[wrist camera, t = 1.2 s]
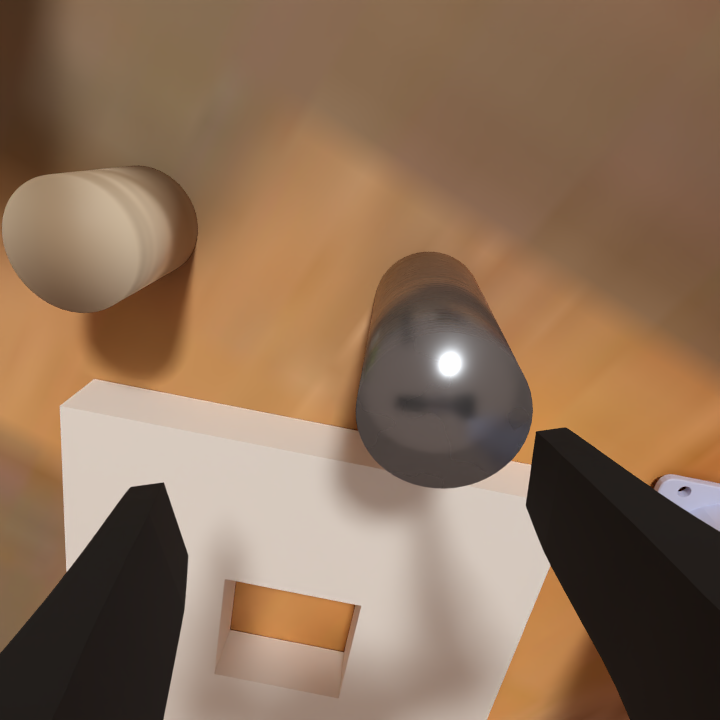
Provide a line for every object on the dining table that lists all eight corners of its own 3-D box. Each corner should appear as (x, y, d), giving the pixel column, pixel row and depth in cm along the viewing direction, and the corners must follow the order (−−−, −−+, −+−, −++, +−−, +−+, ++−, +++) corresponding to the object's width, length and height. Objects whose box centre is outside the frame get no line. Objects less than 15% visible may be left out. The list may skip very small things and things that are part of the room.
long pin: (492, 263, 20) (556, 352, 12) (465, 361, 21) (504, 502, 13) (386, 242, 20) (373, 316, 12) (366, 342, 21) (342, 470, 13)
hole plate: (557, 470, 23) (574, 507, 21) (444, 762, 31) (448, 813, 28) (94, 378, 23) (60, 405, 21) (98, 694, 31) (73, 739, 28)
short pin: (201, 177, 20) (138, 189, 15) (194, 283, 21) (136, 324, 17) (92, 155, 20) (-4, 161, 15) (94, 263, 21) (7, 299, 17)
